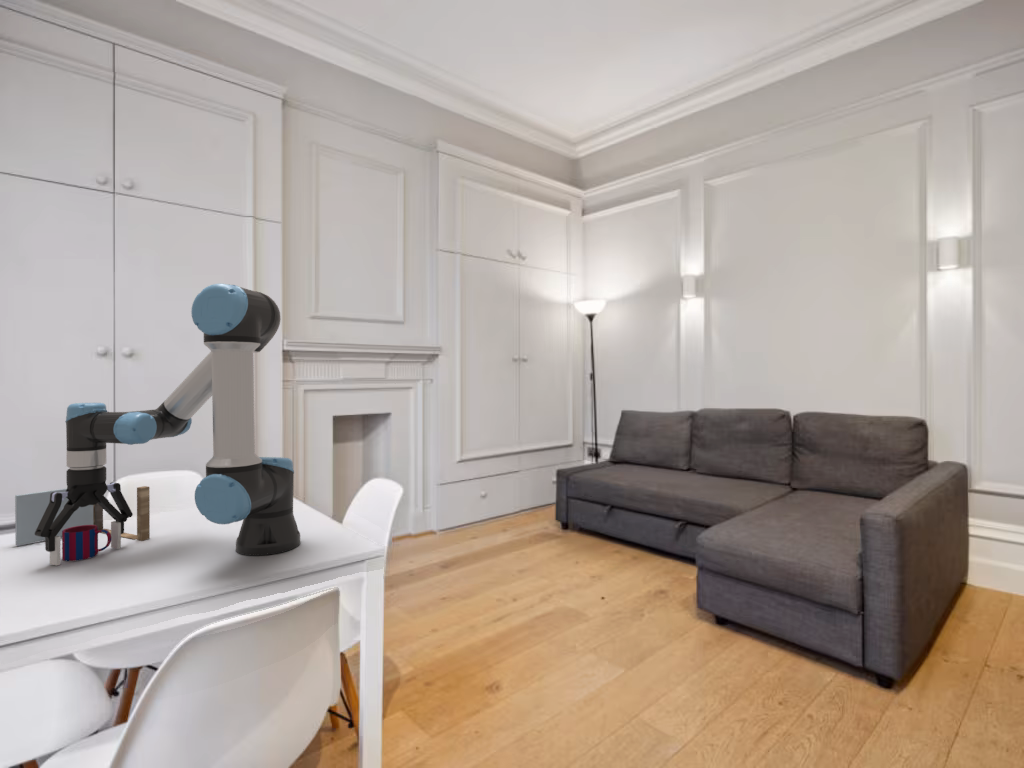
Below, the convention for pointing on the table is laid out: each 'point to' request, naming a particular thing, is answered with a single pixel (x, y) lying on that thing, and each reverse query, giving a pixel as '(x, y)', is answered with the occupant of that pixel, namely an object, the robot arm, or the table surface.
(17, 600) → the table surface
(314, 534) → the table surface
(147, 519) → the doorframe
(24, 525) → the door
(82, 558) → the mug
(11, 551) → the table surface
